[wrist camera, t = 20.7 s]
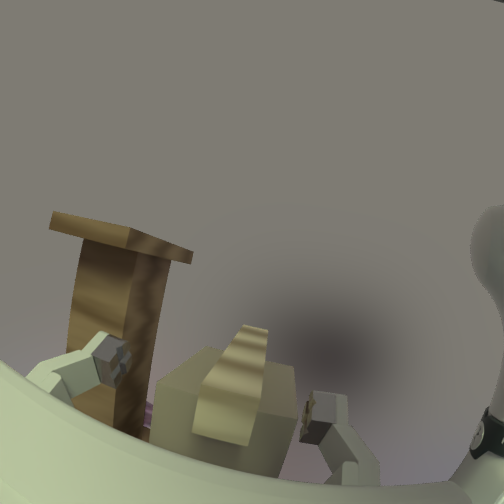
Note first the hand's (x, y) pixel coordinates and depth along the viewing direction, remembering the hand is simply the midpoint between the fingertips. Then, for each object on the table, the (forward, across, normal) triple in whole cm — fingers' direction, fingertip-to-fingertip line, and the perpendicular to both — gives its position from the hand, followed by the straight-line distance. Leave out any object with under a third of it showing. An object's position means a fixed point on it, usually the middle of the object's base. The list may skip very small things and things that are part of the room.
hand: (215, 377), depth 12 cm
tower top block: (+6, 0, +18) cm, 19 cm away
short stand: (+2, +13, +24) cm, 28 cm away
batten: (+9, 0, +10) cm, 14 cm away
